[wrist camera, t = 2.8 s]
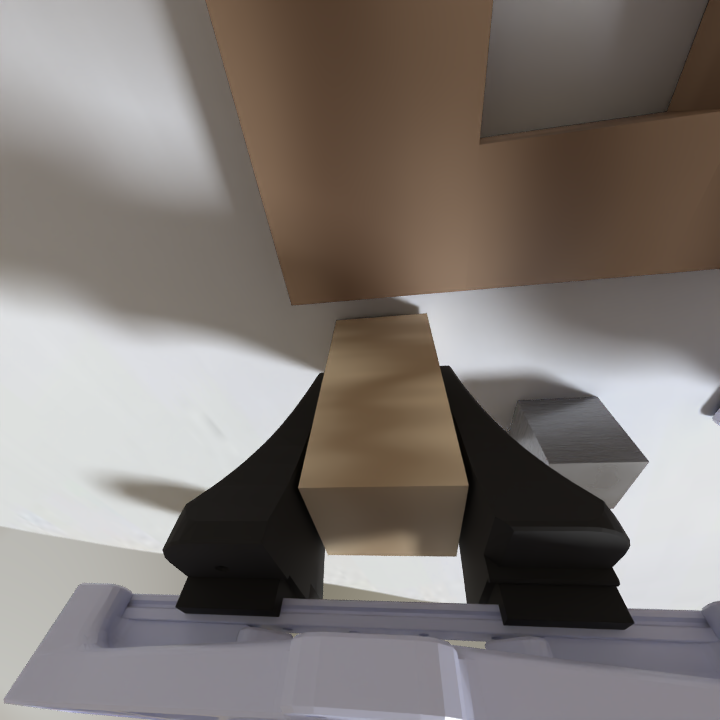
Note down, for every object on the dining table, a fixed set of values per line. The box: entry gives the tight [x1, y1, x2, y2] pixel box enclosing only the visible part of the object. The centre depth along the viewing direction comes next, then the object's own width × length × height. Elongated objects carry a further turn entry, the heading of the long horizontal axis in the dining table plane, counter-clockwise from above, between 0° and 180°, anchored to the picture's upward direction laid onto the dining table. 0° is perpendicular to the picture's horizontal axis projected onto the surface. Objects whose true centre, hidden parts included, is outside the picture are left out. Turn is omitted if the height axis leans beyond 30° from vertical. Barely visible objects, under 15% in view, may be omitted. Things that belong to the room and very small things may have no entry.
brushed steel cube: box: [509, 397, 649, 509], centre depth 16 cm, size 4×4×4 cm
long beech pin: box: [298, 313, 469, 556], centre depth 11 cm, size 4×4×8 cm
